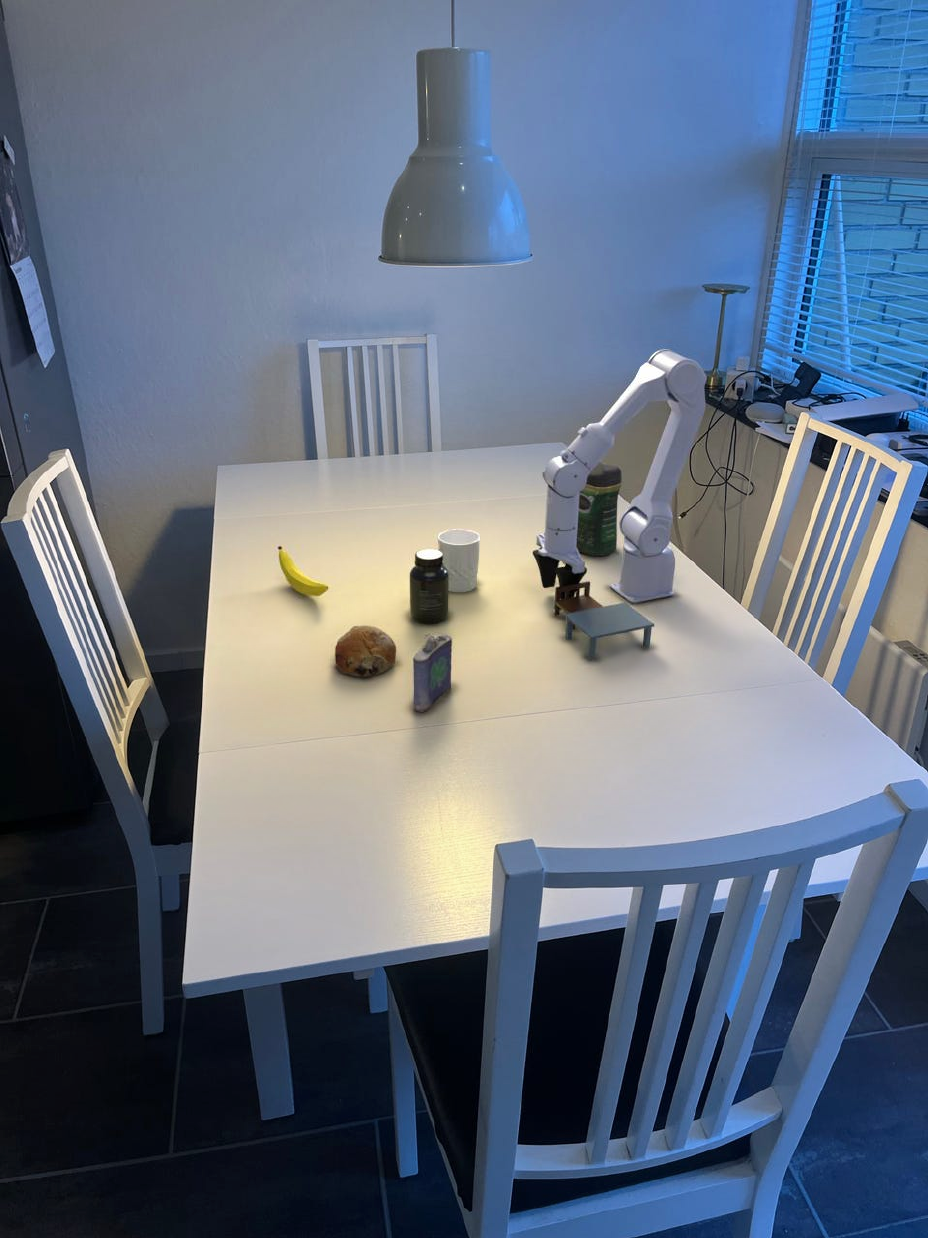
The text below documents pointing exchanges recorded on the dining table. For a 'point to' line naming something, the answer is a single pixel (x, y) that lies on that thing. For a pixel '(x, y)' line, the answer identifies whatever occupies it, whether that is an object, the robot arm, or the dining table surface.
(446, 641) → the flask
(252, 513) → the dining table surface
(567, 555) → the robot arm
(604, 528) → the coffee jar
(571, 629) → the table
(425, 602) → the supplement bottle
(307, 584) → the banana
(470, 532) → the white cup
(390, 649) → the bread roll
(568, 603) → the chair
